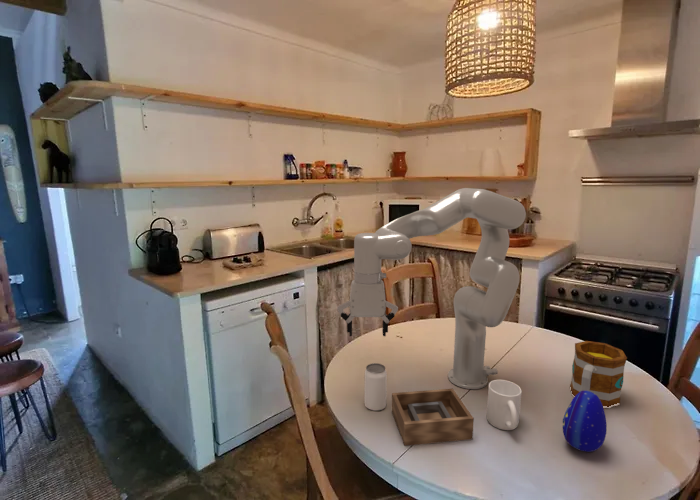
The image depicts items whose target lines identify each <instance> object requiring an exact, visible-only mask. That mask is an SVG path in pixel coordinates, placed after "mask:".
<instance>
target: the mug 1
mask: <svg viewBox="0 0 700 500" xmlns="http://www.w3.org/2000/svg"><path fill="white" fill-rule="evenodd" d="M521 401H522V389H521V387H520V385H518V384H516V383H515V382H512V381H510V380H506V379H494V380H491V381H490V382H488V393H487V403H486V404H487V406H486V419H487V422H488V423H489V424H490V425H491V426H493V427H494V428H496V429H499V430H502V431H512V430H514V429H516V428H517V427H518V426H519V422H520V412H521Z"/></svg>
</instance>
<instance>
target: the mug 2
mask: <svg viewBox="0 0 700 500" xmlns="http://www.w3.org/2000/svg"><path fill="white" fill-rule="evenodd" d="M627 359H628V357H627V356H626V354H625V352H624V351H623V350H622V349H620V348H619V347H615V346H614V345H613V346H612V345H611V344H608V343H605V342H598V341H592V340H591V341H589V340H584V341H579V342H575V343H574V357H573V361H572V370H571V371H572V375H571V381H570V384H569V388H570V387H571V390H570V392H571V391H572V394H573V395H574V396H576V395H577V394H578V393H579V392H580V391H590V392H592V393H594V394H596V395H597V396H598V398H599V399H600V401H601V403H602V405H603V406H607V407H609V406H611V405H614V404H617V403H620V404H621V392H622V388H623V384H624V372H625V367H626V366H625V365H626V363H627Z"/></svg>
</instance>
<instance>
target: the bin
mask: <svg viewBox="0 0 700 500" xmlns="http://www.w3.org/2000/svg"><path fill="white" fill-rule="evenodd" d="M391 414H392V416H393V418H394V422H395V425H396V427H397V430H398V433H399V436H400V437H401V440H402V443H403V446H404V447H405V446H413V445H425V444H426V445H427V444H435V443H444V442H445V443H447V442H457V441H468V440H473V435H474V433H473V432H474V420H475V418H474V417H473V415H472V414H471V412H470V411H469V409H468V408H467V407H466V405H465V404H464V402H463V401H462V400H461V398H460V397H459V395H458V394H457V392H456V391H455V390H454V388H442V389H431V390H416V391H414V390H413V391H401V392H392V393H391Z"/></svg>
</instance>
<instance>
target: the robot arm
mask: <svg viewBox="0 0 700 500" xmlns="http://www.w3.org/2000/svg"><path fill="white" fill-rule="evenodd" d="M526 217H527V213H526V208H525V207H524V205H523V203H521V202H520V201H518V200H517V199H513V198H510V197H508V196H505V195H502V194H499V193H496V192H494V191H491V190H488V189H486V188H474V187H473V188H472V187H471V188H470V187H463V188H459V189H457V190H456V191H453V192H451V193H450V194H448V195H446V196H445V197H442V198H440V199H439V200H438V201H436V202H434V203H432V204H430V205H428V206H427V207H425V208H422V209H420V210H416V211H413V212H411V213H408V214H405V215H403V216H401V217H397V218H395V219H394V220H392V221H390V222H388V223H387V224H385V225H383V226H382V227H379V228H378V229H377V230H376V231H375V232H361V233H357V234H356V235H355V236H354V240H353V241H354V242H353V243H354V244H353V251H354V254H353V259H354V262H353V264H354V266H353V269H354V271H353V275H354V277H353V280H352V281H351V283H350V290H349V292H350V293H349V300H348V301H345V302H344V303H341V304H339V305H337V307H336V310H337V311H338V313H339V315H340V317H341V318H342V319H343V320H344V321H345V323H346V333H349V337H352V336H353V319H355V318H380V319H382V329H381V330H382V336H383V337H386V336H387V335H386V334H387V333H389V323H390V322H391V320H393V319H394V318H395V315H396V314H397V312H398V311H399V307H398V306H397V305H396V304H393V303H392V302H390V301H387V300H386V290H385V288H386V287H385V283H384V281H383V279H387V273H386V272H383V271H382V260H393V261H397V260H403V259H405V258H407V257H408V256H409V255H410V253H411V252H412V248H413V247H412V246H413V245H412V241H411V239H413V238H417V237H418V238H419V237H425V236H426V237H428V236H434V235H439V234H441V233H443V232H445V231H446V230H448V229H450V228H451V227H453V226H454V225H456V224H458V223H460V222H462V221H463V220H465V219H467V218H471V219H476V220H477V222H478V225H479V227H480V230H481V240H480V243H479V245H478V248H477V251H476V253H475V256H474V258H473V261H472V264H471V266H470V269H469V277H470V279H471V280H472V282H474V283H476V284H478V285H480V286H483V287H485V288H487V290H486V291H485V290H483V289H481V288H478V287H475V286H472V285H471V286H470V285H469V286H467V285H466V286H463V287H460V288H459V289H457V291H456V292H455V294H454V295H453V311H454V318H455V319H454V321H455V326H454V327H455V328H454V344H453V347H454V349H453V363H452V364H453V365H452V366H453V367H452V368H451V369H450V370H449V371H448V372H447V378H448V380H449V381H450V383H452V384H453V385H455V386H457V387H459V388H463V389H467V390H468V389H469V390H479V389H482V388H485V387H486V386H487V385H488V384H489V382H488V381H489V380H488V377H489V376H490V375H491V376H494V375H498V373H499V371H498V369H497V368H491V367H490V365H485V355H486V354H485V353H486V350H485V349H486V339H487V338H486V337H487V328H495V327H498V326H499V325H501V324H502V323H503V322H504V320H505V318H506V316H507V315H508V312H509V310H510V307H511V305H512V303H513V300H514V297H515V295H516V292H517V289H518V287H519V283H520V272H519V269H518V267H517V266H516V265H515V264H514V263H512V262H510V261H508V260H505V259H506V256H507V254H508V251H509V246H510V236H509V235H510V234H509V231H508V230H515V229H517V228H519V227H521V226H522V225H523V224H524V222H525V220H526ZM347 308H349V313H348V314H347V313H346V312H345V311H344V310H345V309H347ZM386 308H388V309H390V310H391V311H390V312H389V313H388V314H386Z"/></svg>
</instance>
